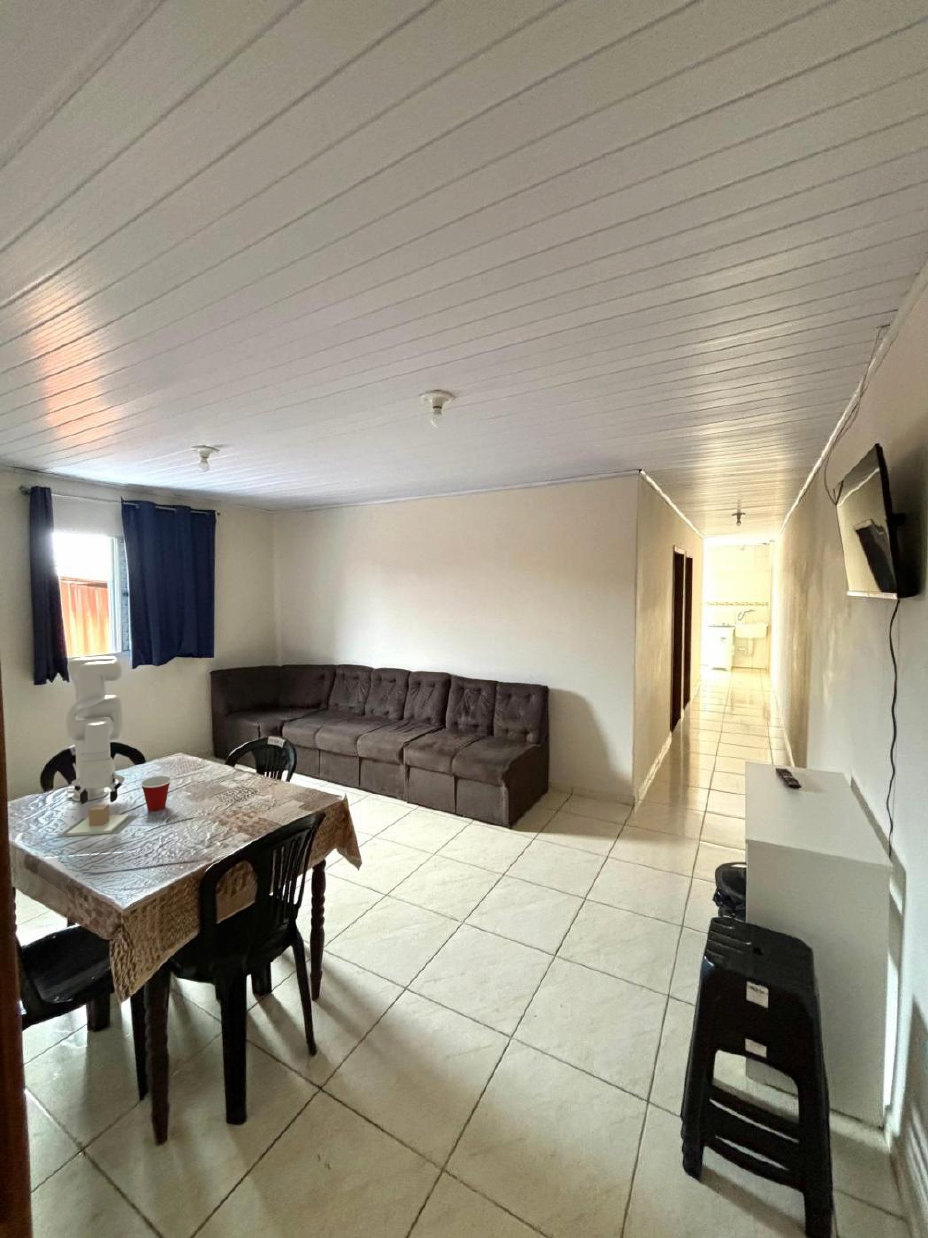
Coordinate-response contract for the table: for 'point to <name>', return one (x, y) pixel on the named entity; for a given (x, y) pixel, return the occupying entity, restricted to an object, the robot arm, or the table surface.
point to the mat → (100, 834)
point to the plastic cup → (156, 792)
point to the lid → (98, 822)
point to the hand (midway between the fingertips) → (99, 802)
